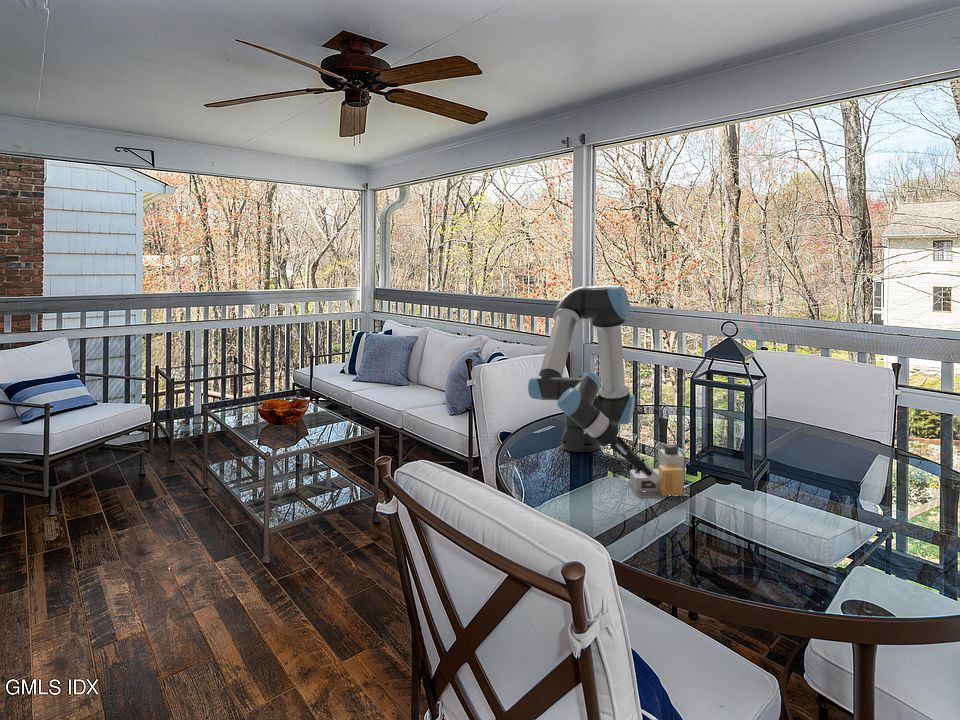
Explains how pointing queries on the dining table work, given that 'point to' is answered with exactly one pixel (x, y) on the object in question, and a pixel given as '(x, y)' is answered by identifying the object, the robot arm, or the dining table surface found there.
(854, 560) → the dining table surface
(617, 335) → the robot arm
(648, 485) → the white small appliance
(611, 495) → the dining table surface
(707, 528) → the dining table surface
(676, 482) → the orange wooden block
